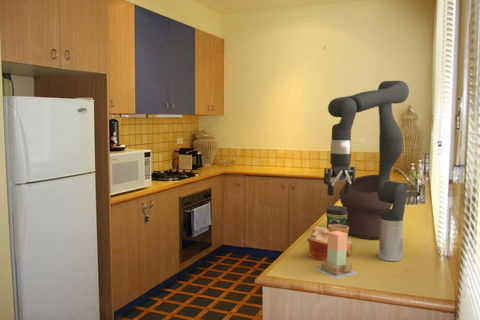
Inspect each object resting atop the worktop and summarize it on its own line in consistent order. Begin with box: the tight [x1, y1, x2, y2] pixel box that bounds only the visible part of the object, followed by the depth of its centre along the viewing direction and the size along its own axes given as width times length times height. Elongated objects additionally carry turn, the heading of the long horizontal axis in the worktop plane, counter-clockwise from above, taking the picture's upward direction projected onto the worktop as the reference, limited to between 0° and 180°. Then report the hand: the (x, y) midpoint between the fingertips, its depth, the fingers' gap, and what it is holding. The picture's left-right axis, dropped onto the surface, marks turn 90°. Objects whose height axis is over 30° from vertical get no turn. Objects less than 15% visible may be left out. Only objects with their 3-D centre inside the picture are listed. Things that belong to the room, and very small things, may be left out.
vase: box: [339, 174, 393, 240], centre depth 234 cm, size 27×27×30 cm
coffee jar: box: [325, 204, 347, 229], centre depth 216 cm, size 10×8×19 cm
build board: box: [313, 267, 359, 280], centre depth 177 cm, size 12×12×1 cm
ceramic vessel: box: [306, 224, 354, 262], centre depth 196 cm, size 14×26×15 cm, turn 135°
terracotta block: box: [328, 231, 347, 251], centre depth 176 cm, size 5×5×6 cm
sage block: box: [327, 248, 347, 267], centre depth 176 cm, size 5×5×6 cm
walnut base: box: [320, 261, 353, 276], centre depth 177 cm, size 8×8×3 cm
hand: (339, 194), depth 174 cm, fingers open, 8 cm apart
